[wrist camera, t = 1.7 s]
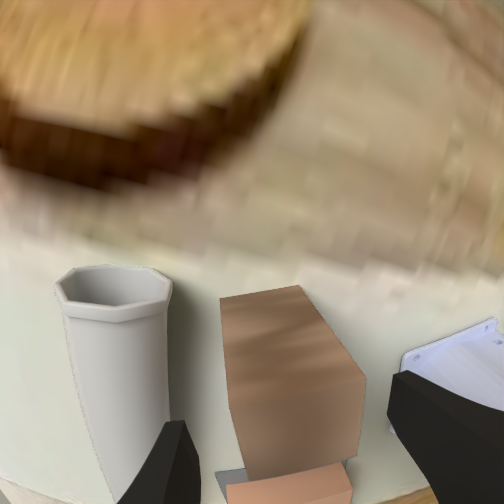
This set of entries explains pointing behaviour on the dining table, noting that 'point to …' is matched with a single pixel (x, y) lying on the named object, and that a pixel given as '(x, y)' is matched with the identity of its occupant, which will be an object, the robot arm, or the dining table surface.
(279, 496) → the socket
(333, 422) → the peg
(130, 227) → the dining table surface
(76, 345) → the tube
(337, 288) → the dining table surface
